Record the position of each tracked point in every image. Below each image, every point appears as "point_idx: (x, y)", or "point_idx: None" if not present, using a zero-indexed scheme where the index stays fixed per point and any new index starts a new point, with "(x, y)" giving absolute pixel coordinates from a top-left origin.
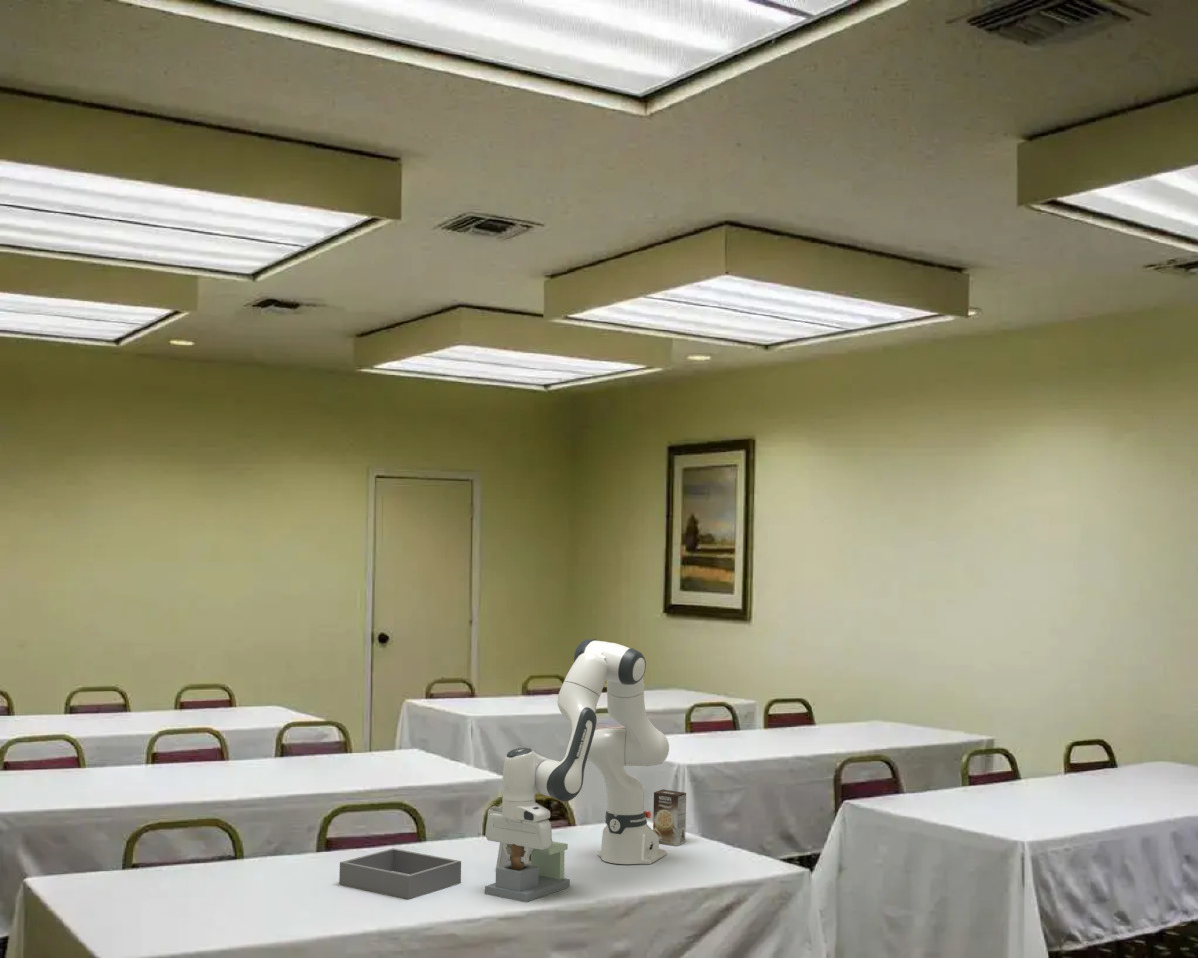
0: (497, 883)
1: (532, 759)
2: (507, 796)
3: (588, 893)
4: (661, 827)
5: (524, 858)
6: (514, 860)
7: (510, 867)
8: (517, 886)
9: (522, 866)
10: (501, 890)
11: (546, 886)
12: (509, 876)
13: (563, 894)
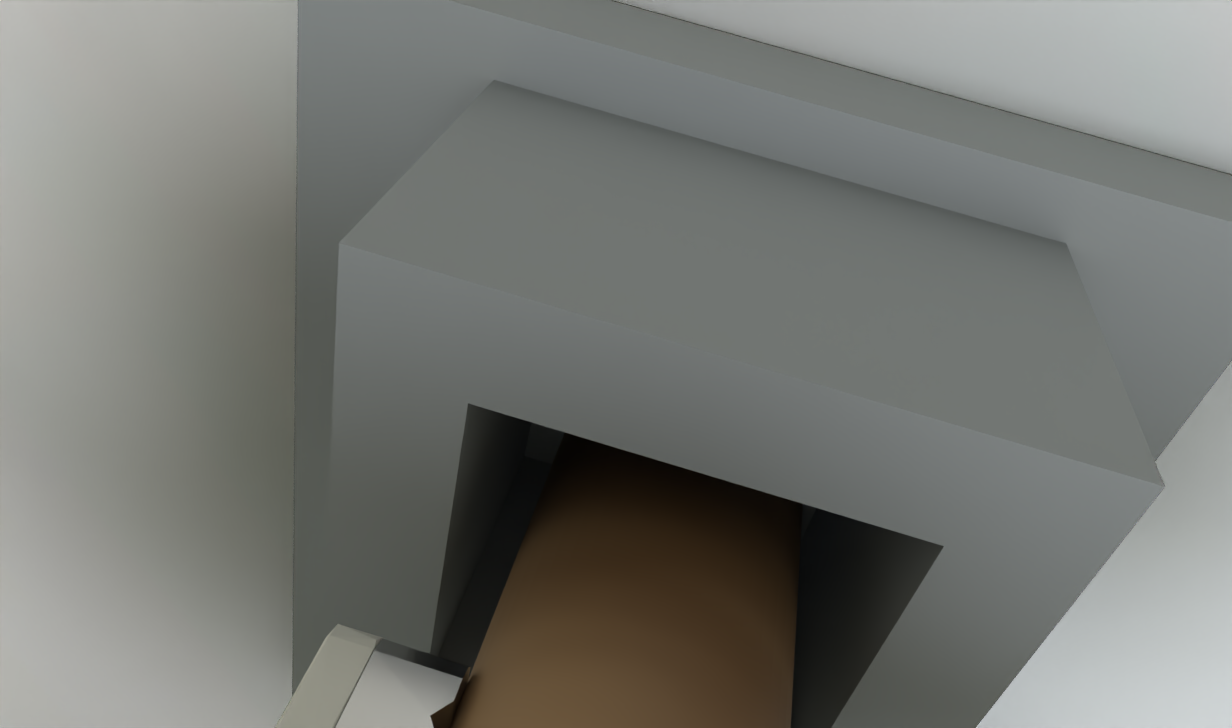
0: (1029, 263)
1: None
2: None
3: (36, 530)
4: None
5: (302, 725)
6: (620, 693)
7: (842, 675)
8: (523, 126)
9: (496, 613)
10: (895, 121)
11: (324, 478)
12: (708, 271)
13: (198, 446)
